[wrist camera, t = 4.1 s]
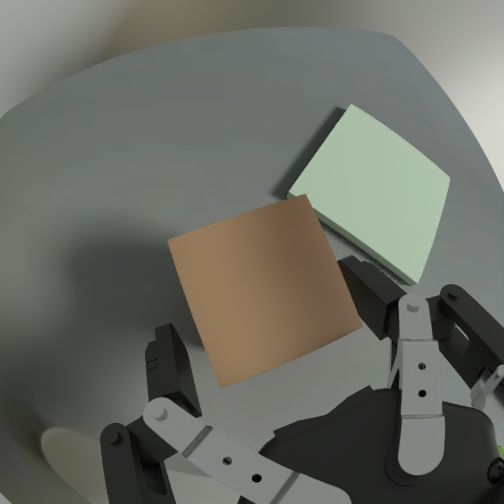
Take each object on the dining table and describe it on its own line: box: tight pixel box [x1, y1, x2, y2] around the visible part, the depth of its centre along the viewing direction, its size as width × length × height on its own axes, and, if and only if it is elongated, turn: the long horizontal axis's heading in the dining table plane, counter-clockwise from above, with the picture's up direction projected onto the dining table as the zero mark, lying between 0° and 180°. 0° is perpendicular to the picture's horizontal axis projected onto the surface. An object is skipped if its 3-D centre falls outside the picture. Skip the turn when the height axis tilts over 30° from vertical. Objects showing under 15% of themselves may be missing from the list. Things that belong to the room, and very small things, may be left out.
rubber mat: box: [286, 104, 450, 286], centre depth 21 cm, size 12×12×1 cm
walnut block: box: [167, 193, 363, 388], centre depth 14 cm, size 5×5×10 cm
